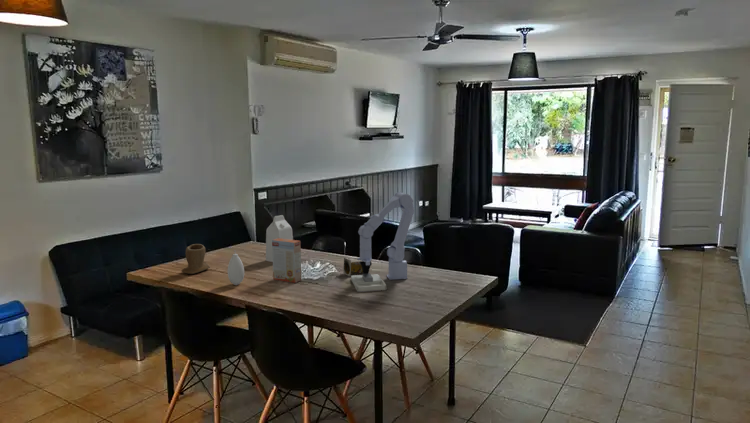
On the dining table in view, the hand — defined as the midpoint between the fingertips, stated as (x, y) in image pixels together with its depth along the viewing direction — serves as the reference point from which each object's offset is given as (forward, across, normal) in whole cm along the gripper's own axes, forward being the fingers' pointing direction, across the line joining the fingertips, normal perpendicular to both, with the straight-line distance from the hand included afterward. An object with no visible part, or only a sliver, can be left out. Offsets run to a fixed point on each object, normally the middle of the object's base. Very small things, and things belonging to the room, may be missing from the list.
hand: (365, 275), depth 273 cm
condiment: (-2, -12, -8) cm, 15 cm away
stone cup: (+3, -33, -86) cm, 92 cm away
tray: (+3, +13, 0) cm, 13 cm away
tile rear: (+1, +3, 0) cm, 3 cm away
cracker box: (+3, -8, -39) cm, 40 cm away
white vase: (+3, -5, -64) cm, 64 cm away
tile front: (+1, +7, 0) cm, 7 cm away
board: (+3, +2, 0) cm, 3 cm away
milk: (+3, -50, -42) cm, 66 cm away
